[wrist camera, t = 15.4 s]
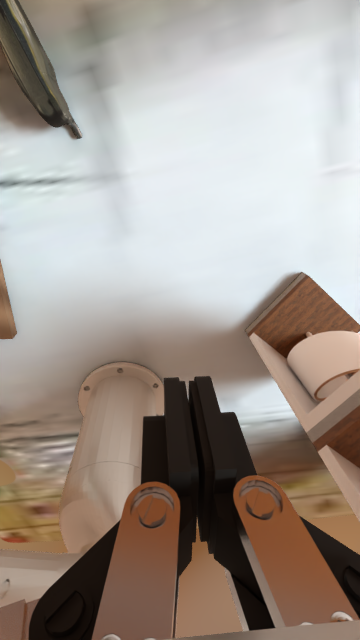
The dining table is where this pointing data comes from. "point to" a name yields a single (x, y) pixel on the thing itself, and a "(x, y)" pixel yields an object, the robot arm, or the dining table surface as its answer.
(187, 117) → the dining table surface
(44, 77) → the mobile phone
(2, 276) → the rail board
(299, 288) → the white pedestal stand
